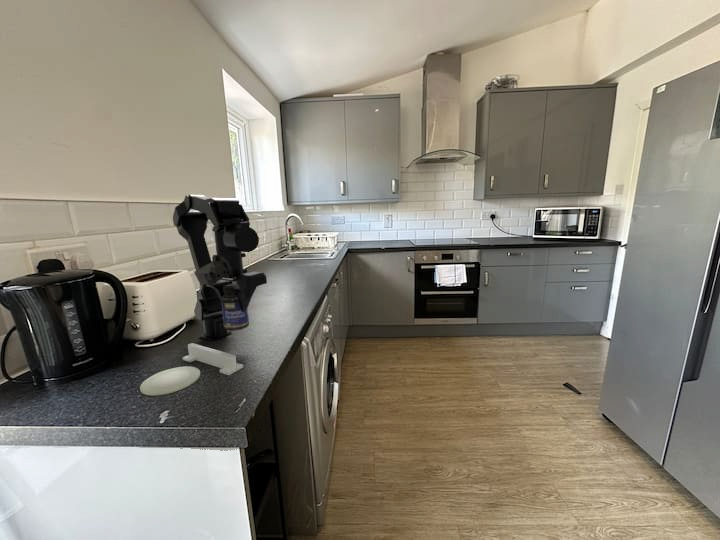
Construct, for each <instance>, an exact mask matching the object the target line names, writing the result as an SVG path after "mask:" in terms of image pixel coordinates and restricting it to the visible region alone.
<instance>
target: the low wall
mask: <svg viewBox="0 0 720 540" xmlns="http://www.w3.org/2000/svg"><path fill="white" fill-rule="evenodd" d="M187 351H188V355H185V356H183V357H182V361H184V362H188V363H192V362H194V361H198V362H199V363H200V362H201V363H204V364H208V365H210V366H213V367H216V368H219V373H220V374H224V375H226V376H230V375H233V374H234V373H235V372H237V371H239V370H241V369H242V368H244V364H241V363H238V362H237V359H236V354H232V353H229V352H225V351H222V350H218V349H214V348H210V347H207V346H203V345H201V344H197V343H193V342H192V343H189V344H187Z"/></svg>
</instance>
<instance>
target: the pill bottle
mask: <svg viewBox="0 0 720 540" xmlns="http://www.w3.org/2000/svg"><path fill="white" fill-rule="evenodd" d="M234 287H238V285H237V283H232V284H230V285H225V286H223V292H224V293H225V295H224V296H222V298H221V303H222V313H223V322H224V328H225V329H226V330H228V331H231V332H233V331H240V330H243V329H246V328H247V327H249V325H250V318H249V309H248V308H249V307H248V308H247V310H246V311H245V312H242V311H241V307H240V301H239V295H238V292H236V291H235V290H234V289H233V288H234Z"/></svg>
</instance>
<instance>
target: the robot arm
mask: <svg viewBox="0 0 720 540" xmlns="http://www.w3.org/2000/svg"><path fill="white" fill-rule="evenodd" d="M242 205H243V204H242V203H240V201H239V199H238V198H228V197H226V198H224V197H223V198H221V197H220V198H219V197H208V196H206V195H204V194H191V193H190V194H186V195H185V197H184V200H183V201H182V202H181V203H179V204H178V205H176V206H175V208H174V211H173V215H172V223H173V226H174V227H176V229H177V232H178V234H179V235H180V237H182V238H183V239H184V240H186V241H187V246H188V248H189V252H190V255H191V259H192V261H193V266H194V269H195V271H194V276H195V277H196V280H197V281H198V282H199V289H198V291H197V294H196V299H197V301H196V304H195V307H194V310H193V311H194V315H195V318H196V319H197V320H198V321H200V322H202V327H203V333H202V334H200V335H199V338H202V339H205V340H209V341H215V340H219V339H221V338H223V337H226V336H228V335H231V334H232V331H228V330H226V329H225V328H224V322H223V313H222V303H221V298H222V296H224V295H225V293H224V292H223V286H225V285H230V284H233V282H236V284H237V285H238V287H234V288H233V289H234V290H235V291H236V292H238V295H239V301H240V307H241V311H242V312H245V311H246V310H247V308H249V305H250V301H251V300H252V297H253V295H254V293H255V292H256V290H257V287H259V286H261V285H266V284H268V280H267V279H268V278H267V274H265V273H264V272H260V271H251V272H248V269H247V268H244V265H243V258H245V257H246V253H251V252H254V251H255V250H256V249H257V248H258V246H259V243H260V237H259V235H258V232H257V231H256V230H255V229H254V228H252V227H250V226H251V223H250V218H249V216H248V215H247V213H246V211H245V209H244V207H243V206H242ZM209 221H210V222H211V224H212V225H213V227H212V232H213V234H214V241H215V250H216V254H213V255H212V257H211V254H210V252H209V248H208V244H207V242H206V238H205V234H206V231H207V228H208V223H209Z"/></svg>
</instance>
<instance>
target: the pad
mask: <svg viewBox="0 0 720 540" xmlns="http://www.w3.org/2000/svg"><path fill="white" fill-rule="evenodd" d="M200 376H201V370H200V369H199V368H198V367H194V366H190V365H189V366H188V365H187V366H185V365H184V366H177V367H173V368H169V369H165V370H162V371H159V372H157V373H155V374H152V375H151V376H149V377H148V378H146V379H144V381H143V382H142V383H141V384H140V387H139V390H140V393H141V394H143V395H146V396H149V397H150V396H152V397H157V396H164V395H169V394H172V393H176V392H179V391H181V390H184V389H185V388H187V387H190V386H191V385H192V384H194V383H196V381H198V380H199V378H200Z"/></svg>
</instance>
